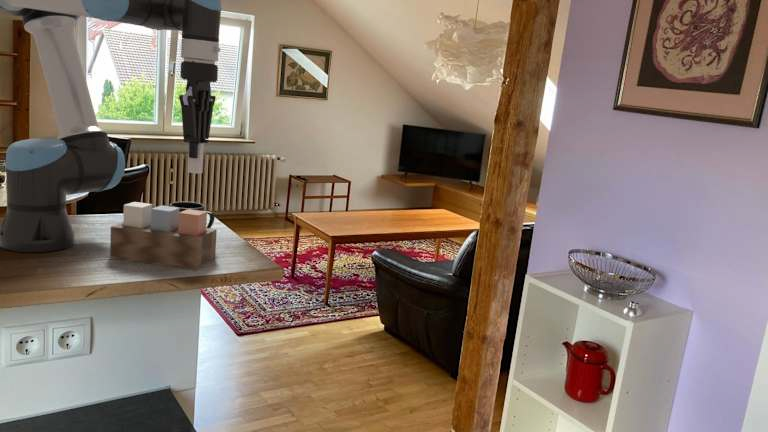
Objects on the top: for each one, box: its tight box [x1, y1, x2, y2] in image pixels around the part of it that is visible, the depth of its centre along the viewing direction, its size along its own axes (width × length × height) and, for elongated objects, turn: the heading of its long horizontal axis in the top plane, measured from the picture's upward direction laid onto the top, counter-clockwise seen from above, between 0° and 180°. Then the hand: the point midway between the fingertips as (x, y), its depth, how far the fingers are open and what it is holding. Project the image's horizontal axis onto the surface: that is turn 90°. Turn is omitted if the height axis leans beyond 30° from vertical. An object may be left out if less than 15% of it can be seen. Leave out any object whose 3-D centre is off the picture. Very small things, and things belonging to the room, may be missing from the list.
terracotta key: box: [179, 209, 208, 236], centre depth 140 cm, size 4×4×7 cm
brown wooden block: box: [109, 221, 217, 271], centre depth 142 cm, size 20×10×7 cm, turn 82°
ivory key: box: [122, 201, 153, 228], centre depth 142 cm, size 4×4×7 cm
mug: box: [169, 201, 216, 229], centre depth 155 cm, size 8×12×10 cm
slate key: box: [151, 205, 180, 232], centre depth 141 cm, size 4×4×7 cm
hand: (195, 172), depth 138 cm, fingers closed
